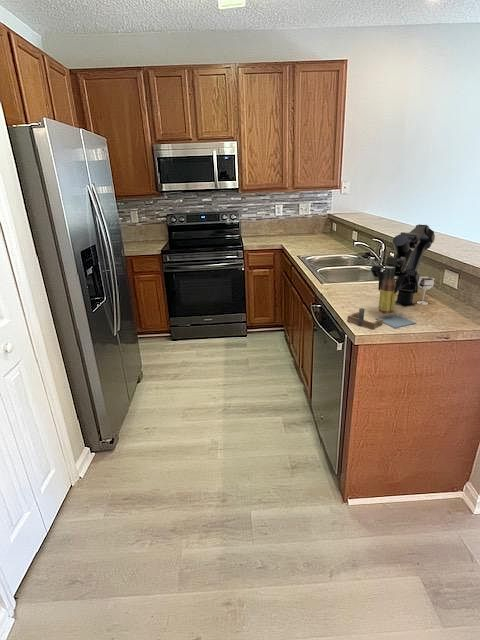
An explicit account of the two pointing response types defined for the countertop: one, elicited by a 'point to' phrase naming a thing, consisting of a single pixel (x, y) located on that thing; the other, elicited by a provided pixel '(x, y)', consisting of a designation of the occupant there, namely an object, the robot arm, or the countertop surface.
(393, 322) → the slate mat
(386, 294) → the sauce bottle
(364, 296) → the countertop surface
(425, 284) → the wineglass
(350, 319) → the c holder
